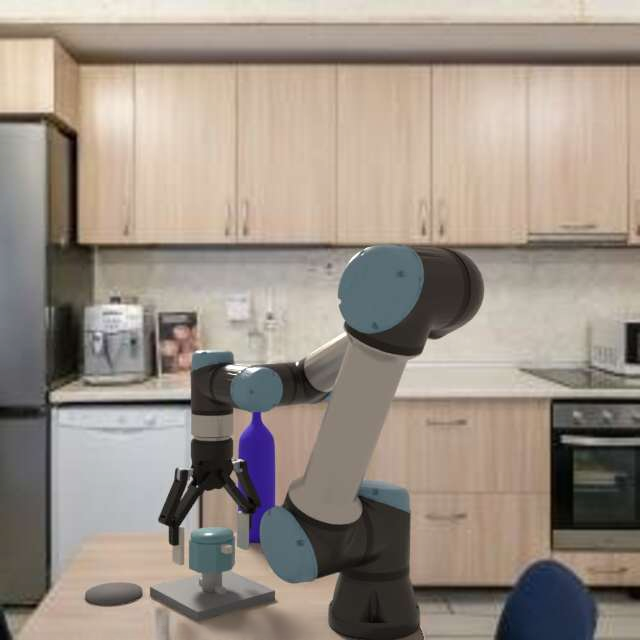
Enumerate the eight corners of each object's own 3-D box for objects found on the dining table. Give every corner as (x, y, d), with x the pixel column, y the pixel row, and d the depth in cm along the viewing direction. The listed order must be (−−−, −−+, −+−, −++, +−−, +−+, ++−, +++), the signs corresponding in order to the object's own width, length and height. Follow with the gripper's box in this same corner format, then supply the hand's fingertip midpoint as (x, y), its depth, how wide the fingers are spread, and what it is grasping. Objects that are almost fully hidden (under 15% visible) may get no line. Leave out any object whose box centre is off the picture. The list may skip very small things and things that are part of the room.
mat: (152, 596, 151) (152, 593, 151) (100, 609, 145) (100, 606, 145) (126, 581, 159) (126, 578, 159) (75, 593, 152) (75, 590, 152)
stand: (275, 598, 150) (275, 540, 150) (197, 621, 140) (197, 557, 139) (224, 576, 162) (224, 521, 162) (149, 594, 152) (149, 536, 151)
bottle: (269, 544, 183) (270, 406, 182) (233, 541, 185) (233, 405, 184) (279, 533, 191) (279, 401, 190) (244, 531, 193) (244, 400, 192)
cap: (247, 569, 149) (247, 535, 149) (210, 578, 144) (210, 543, 144) (213, 554, 157) (213, 522, 157) (177, 563, 152) (177, 530, 152)
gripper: (256, 427, 161) (255, 537, 162) (138, 441, 145) (138, 564, 146) (280, 432, 155) (279, 547, 156) (160, 447, 139) (160, 575, 140)
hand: (211, 555), depth 151 cm, fingers open, 13 cm apart
